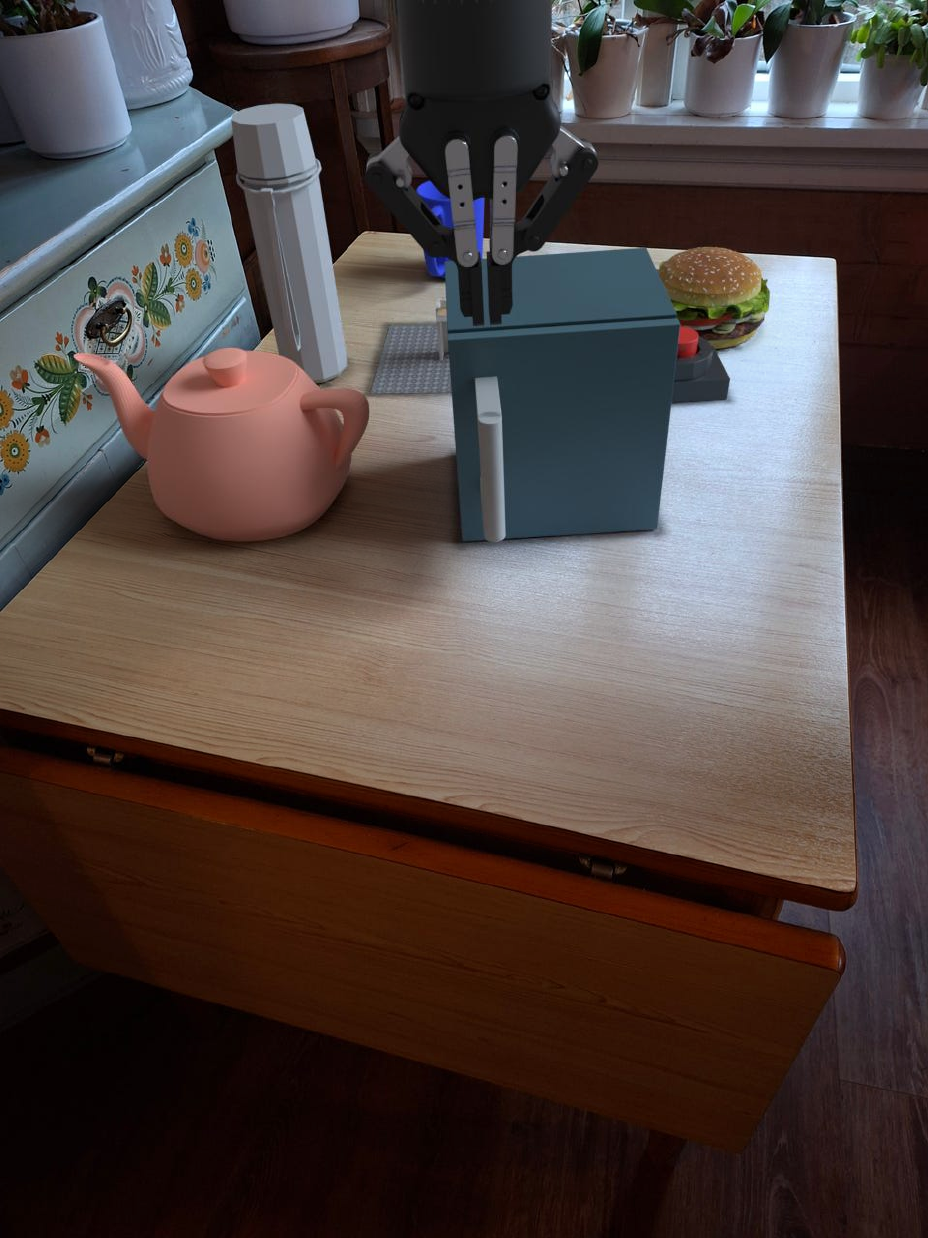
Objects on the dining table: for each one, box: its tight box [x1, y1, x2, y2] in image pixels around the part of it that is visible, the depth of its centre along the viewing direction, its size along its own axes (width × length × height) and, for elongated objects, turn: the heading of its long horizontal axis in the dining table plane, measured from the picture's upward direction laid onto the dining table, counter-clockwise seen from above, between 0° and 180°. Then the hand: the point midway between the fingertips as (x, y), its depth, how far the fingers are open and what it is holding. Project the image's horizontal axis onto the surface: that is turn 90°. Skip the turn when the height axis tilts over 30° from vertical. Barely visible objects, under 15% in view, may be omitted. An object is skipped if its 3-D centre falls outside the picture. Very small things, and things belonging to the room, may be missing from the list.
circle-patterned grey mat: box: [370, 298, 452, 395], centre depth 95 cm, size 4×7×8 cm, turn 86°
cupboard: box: [444, 247, 677, 334], centre depth 74 cm, size 12×16×18 cm
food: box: [656, 246, 771, 350], centre depth 97 cm, size 14×14×8 cm
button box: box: [671, 336, 731, 404], centre depth 90 cm, size 9×7×4 cm
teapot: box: [73, 347, 370, 543], centre depth 77 cm, size 25×17×13 cm
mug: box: [415, 180, 485, 279], centre depth 110 cm, size 8×12×10 cm
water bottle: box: [230, 103, 348, 384], centre depth 88 cm, size 9×8×25 cm
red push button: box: [677, 327, 698, 358], centre depth 88 cm, size 4×4×2 cm
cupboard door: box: [448, 318, 680, 543], centre depth 66 cm, size 7×16×18 cm, turn 92°
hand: (487, 319), depth 55 cm, fingers closed
